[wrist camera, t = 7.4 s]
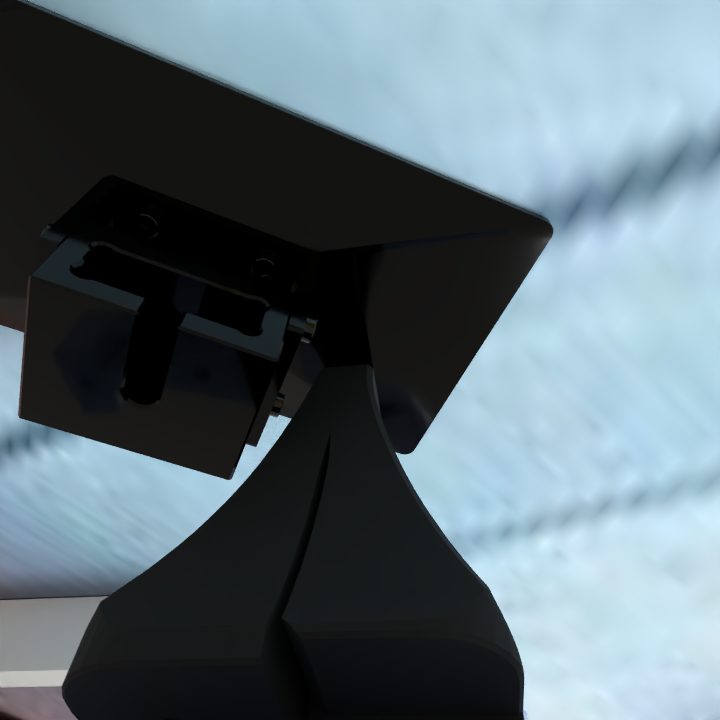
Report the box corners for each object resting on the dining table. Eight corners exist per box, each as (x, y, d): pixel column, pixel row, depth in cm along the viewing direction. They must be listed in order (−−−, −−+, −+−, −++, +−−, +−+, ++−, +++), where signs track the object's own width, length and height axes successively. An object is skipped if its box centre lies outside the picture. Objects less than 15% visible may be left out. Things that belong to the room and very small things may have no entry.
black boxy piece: (553, 216, 12) (623, 353, 9) (405, 451, 17) (409, 611, 13) (-111, -61, 10) (-405, -34, 6) (-88, 295, 14) (-257, 437, 10)
